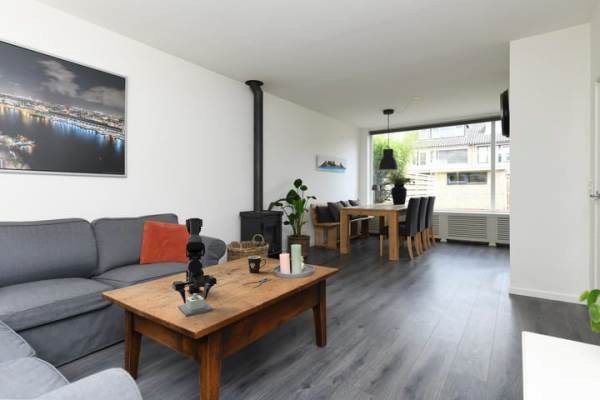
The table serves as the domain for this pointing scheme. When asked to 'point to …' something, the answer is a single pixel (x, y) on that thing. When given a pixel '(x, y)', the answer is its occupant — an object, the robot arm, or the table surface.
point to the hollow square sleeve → (195, 303)
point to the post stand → (188, 312)
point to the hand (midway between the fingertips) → (195, 301)
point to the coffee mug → (254, 264)
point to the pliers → (259, 281)
